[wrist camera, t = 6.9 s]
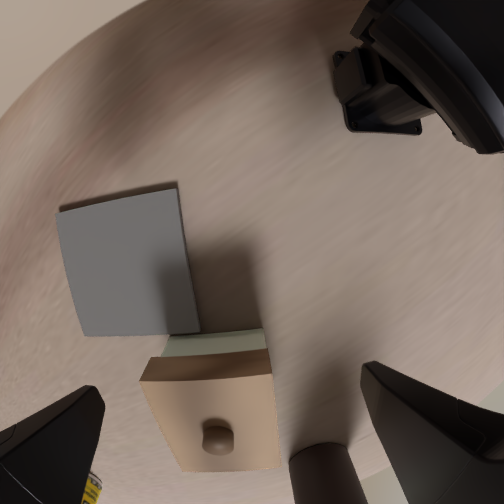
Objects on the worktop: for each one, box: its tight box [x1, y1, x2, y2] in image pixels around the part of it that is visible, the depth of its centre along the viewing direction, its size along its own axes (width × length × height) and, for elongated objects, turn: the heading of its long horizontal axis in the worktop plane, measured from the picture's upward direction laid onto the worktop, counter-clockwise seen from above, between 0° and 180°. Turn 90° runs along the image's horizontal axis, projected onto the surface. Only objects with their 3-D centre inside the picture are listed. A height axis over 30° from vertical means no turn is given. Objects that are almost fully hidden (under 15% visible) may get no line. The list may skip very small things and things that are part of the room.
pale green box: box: [161, 328, 266, 357], centre depth 18 cm, size 7×7×4 cm
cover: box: [139, 348, 282, 472], centre depth 14 cm, size 7×9×4 cm
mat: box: [55, 188, 201, 336], centre depth 18 cm, size 10×10×1 cm
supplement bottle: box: [81, 473, 102, 504], centre depth 20 cm, size 5×5×10 cm
